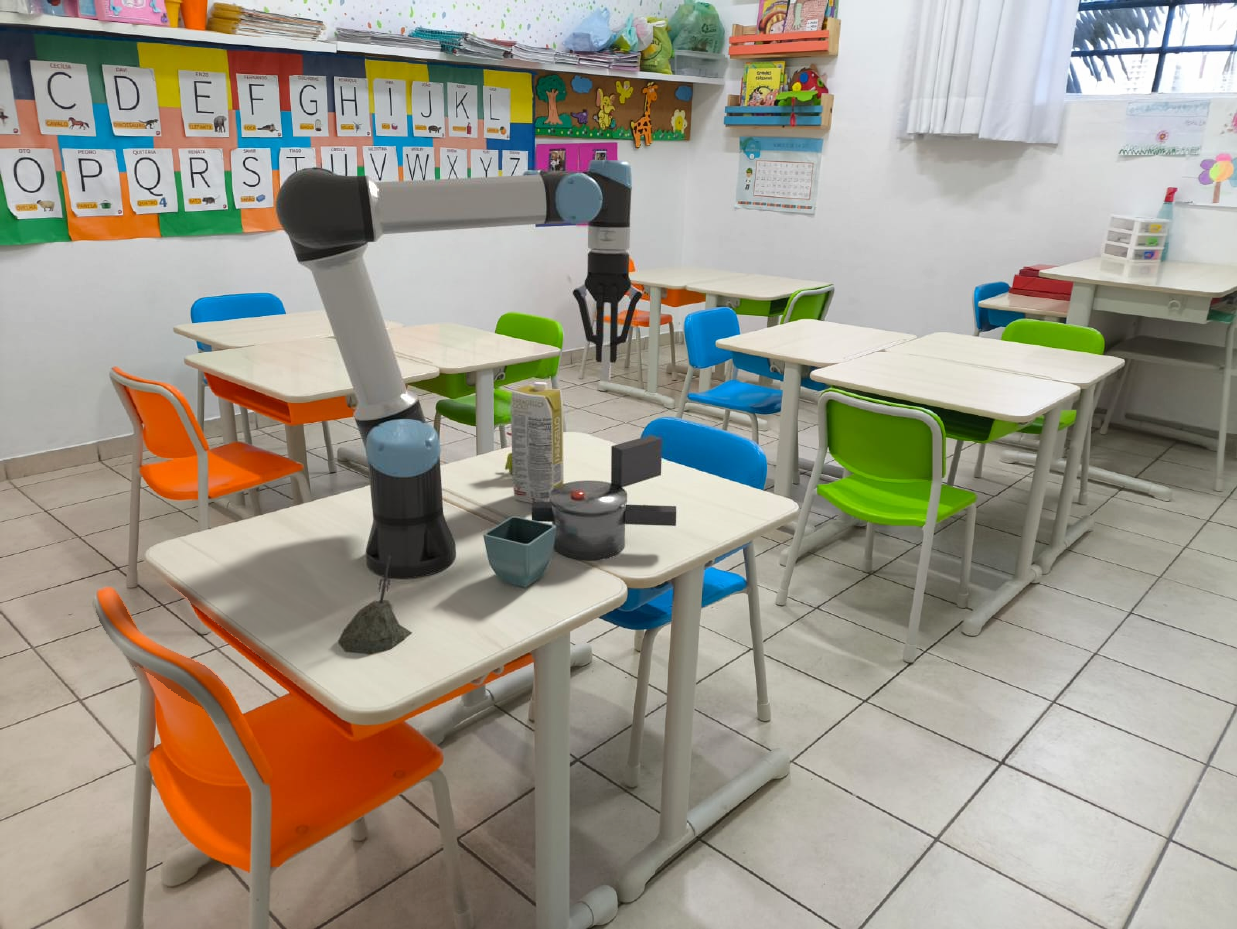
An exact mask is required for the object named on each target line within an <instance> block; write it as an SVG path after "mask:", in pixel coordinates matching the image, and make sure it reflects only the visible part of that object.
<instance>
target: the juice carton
mask: <svg viewBox="0 0 1237 929" xmlns="http://www.w3.org/2000/svg"><path fill="white" fill-rule="evenodd" d="M533 383H534V384H533V385H532V384H528V385H524V386H522V387H520V388H517V389H515V390H512V391H511V393H510V394H511V395H510V426H511V429H510V430H511V434H512V436H511V453H512V467H513V474H512V486H513V494H514V496H513V497H514V499H515V500H516V501H519V502H523V503H528V504H531V505H533V502H550V493H551V491H552V490H553V489H554V488H556V487H557V486H560V485H562V484H565V483H564V482H565V481H564V479H565V478H564V466H565V465H564V404H563V397H562V396H563V395H562V389H555V388H548V383H547V382H543V381H535V382H533Z"/></svg>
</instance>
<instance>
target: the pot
mask: <svg viewBox="0 0 1237 929" xmlns="http://www.w3.org/2000/svg"><path fill="white" fill-rule="evenodd" d="M531 520H534V521H538V522H543V523H547V522H548V523H551V524H552V525H555V526H556V530H555V540H554V548H553V552H555V553H556V554H558V555H559V556H561V557H563V558H566V559H570V560H574V561H580V562H581V561H582V562H590V561H591V562H596V561H603V559H604V560H607V559H611V558H613V556H614V557H616V556H618V555H619V554H620V553H622V552H623V550H625V547H626V545H625V544H626V525H633V526H634V525H635V526H639V525H640V526H663V527H664V526H665V527H666V526H667V527H669V526H670V527H671V526H672V527H676V526H677V506H676V505H656V504H655V505H651V504H649V505H648V504H625V505H624V506H623V507H622V508H620V509H618V510H616V511H613V512H610V513H605V514H597V515H580V514H572V513H568V512H564V511H561V510H559V509H557V508H555V507H554V506H553V505H552V504H551V502H533V504H531ZM610 557H611V558H610Z"/></svg>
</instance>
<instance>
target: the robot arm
mask: <svg viewBox="0 0 1237 929" xmlns="http://www.w3.org/2000/svg"><path fill="white" fill-rule="evenodd" d="M632 181H633V180H632V168H631V165H630V163H629V162H628V161H626V160H612V159H611V160H608V159H607V160H605V159H604V160H602V159H593V160H590V161H589V163H588V168H587V170H585V171H569V170H548V169H547V170H545V169H544V170H543V169H538V170H536V169H535V170H526V171H524V172H523V173H522V175H506V176H504V175H503V176H481V177H461V178H460V177H459V178H442V179H441V178H440V179H438V178H437V179H420V180H419V179H418V180H416V179H415V180H399V181H397V180H396V181H395V180H394V181H375V180H374V179H372V177H370V176H369V175H341V174H337V173H335V172H333V170H332V171H331V170H329V169H327V168H323V167H317V166H314V167H307V168H306V167H304V168H302V169H300V170H296V171H294V172H293V173H291V174H290V175H289V176H288V177H287V178H286V179H285V180H284V182H283V183H282V184H281V185H280V187H279V190H278V191H277V195H276V199H275V211H276V212H275V213H276V215H277V216H276V217H277V220H278V222H279V224H280V226H281V228H282V230H283V231H284V233H285V234H287V236H288V238H289V241H290V243H291V247H292V249H293V252H294V255H295V257H296V261H297V263H298V264H299V265H301V266H303V267H304V268H307V269H308V270H310V272H311V274H312V276H313V279H314V283H315V285H316V288H317V291H318V293H319V297H320V299H321V302H322V305H323V308H324V310H325V313H326V316H327V318H328V321H329V324H330V327H331V331H332V333H333V336H334V339H335V342H336V344H337V347H338V350H339V352H340V355H341V358H342V360H343V363H344V367H345V369H346V373H347V375H348V377H349V381H350V383H351V386H352V389H353V392H354V394H355V397H356V400H357V406H356V408H355V409H354V412H353V418H354V420H355V424H356V426H357V429H358V432H359V434H360V438H361V441H362V444H363V446H364V450H365V455H366V460H367V468H368V476H369V488H370V499H371V509H372V524H371V528H370V531H369V537H368V540H367V544H366V548H365V559H366V560H365V562H366V565H367V566H366V567H367V568H368V569H369V570H370V571H371V572H373V573H375V574H376V575H379V576H383V577H384V576H385V571H386V565H387V559H388V556H390V563H389V567H388V568H389V569H388V574H387V577H388V578H393V579H394V578H395V579H409V578H410V579H411V578H418V577H424V576H429V575H433V574H435V573H438V572H441V571H443V570H445V569H446V568H448V567H450V566H451V565H452V564H453V563H454V562H455V560H456V558H457V550H456V549H457V548H456V547H457V546H456V545H457V544H456V541H455V538H454V536H453V534H452V531H451V529H450V527H449V524H448V522H447V520H446V518H445V515H444V502H443V488H442V484H443V483H442V474H441V473H442V471H441V450H442V449H441V443H440V440H439V435H438V433H437V430H436V429H435V428H434V427H433V426H432V425H431V424H428V422H427V421H426V420H427V419H426V418H425V415H424V411H423V408H422V406H421V405H422V404H421V402H420V400H419V397H418V394H416V393H414V391H413V392H412V391H410V390H408V389H407V387H406V384H405V382H404V378H403V376H402V372H401V369H400V366H399V362H398V360H397V357H396V355H395V354H396V353H395V352H394V347H393V344H392V342H391V339H390V336H389V333H388V329H387V326H386V323H385V321H384V318H383V314H382V311H381V309H380V305H379V302H378V300H377V296H376V293H375V290H374V287H373V285H372V282H371V279H370V278H371V277H370V275H369V271H368V269H367V266H366V263H365V260H364V258H363V257H364V253H366V250H367V248H368V246H369V243H376V242H377V241H378V240H379V239H380V238H381V237H383V236H384V235H393V234H408V233H423V232H438V231H439V232H440V231H453V230H467V229H481V228H498V227H510V226H511V227H512V226H514V227H515V226H528V225H529V226H530V225H541V224H545V225H547V224H563V223H565V224H566V223H568V224H571V225H580V224H581V225H582V224H587V225H588V226H587V248H588V249H590V250H589V252H588V253H587V271H586V272H587V275H586V278H585V279H584V284H582V285H580V286H579V287H575V288H574V290H573V291H572V296H573V297H574V298H575V300H576V301H577V303H578V308H579V313H580V317H581V322H582V324H583V330H584V335H585V339H586V341H587V342H590V343H592V344H594V345H595V360H596V362H597V363H601V371H600V372H601V373H600V374H601V375H600V380H601V381H603V382H604V381H606V382H607V381H608V382H609V381H610V380H611V371H612V370H611V368H612V367H611V366H612V363H614V364H615V363H616V361H617V358H618V357H617V356H618V345H620V344H624V343H626V342H627V339H628V336H629V333H630V328H631V325H632V321H633V317H634V314H635V310H636V306H637V304H638V303H639V301H640V300H641V298H642V296H643V291H642V290H641V289H638V288H636V287H634V286H633V284H632V280H631V278H630V275H629V274H630V254H629V252H627V251H628V250H629V249H630V247H631V245H630V244H631V242H630V241H631V208H632V207H631V206H632V204H631V202H632V190H633V186H632ZM587 292H588V293H589V294H590V295H591V297H592V299H593V300H594V301H595V302H596V305H595V306H596V316H595V317H596V320H595V322H596V324H595V334H594V331H593V325H592V321H591V317H590V311H589V308H588V303H587V302H588V301H587V300H586V296H587V294H588V293H587ZM627 292H629V295H628V298H629V300H630V302H629V304H628V307H627V311H626V315H625V319H624V322H623V326H622V330H621V333H620V335H618V331H619V330H618V329H619V327H618V325H619V302H621V301H622V300H623V298H624V297H625V295H626V294H627ZM607 303H608V304H610V320H609V322H610V324H609V325H610V328H609V331H610V332H609V336H610V337H609V343H604V340H605V339H604V334H605V333H604V330H605V329H604V326H605V325H604V324H605V304H607Z"/></svg>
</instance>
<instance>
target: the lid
mask: <svg viewBox="0 0 1237 929" xmlns="http://www.w3.org/2000/svg"><path fill="white" fill-rule="evenodd" d="M610 450H611V451H610V452H611V454H610V455H611V456H610V458H611V459H610V461H611V462H610V482H607V481H602V480H576V481H570V482H565V483H564V484H562V485H560V486H557V487H556V488H554V489H553V490H552V491H551V493H550V502H551V504H552V505H553V506H554V507H555V508H557V509H559V510H561V511H564V512H568V513H572V514H580V515H597V514H605V513H610V512H613V511H616V510H618V509H620V508H622V507H623V506H624V505H625V506H626V505H627V502H628V493H627V491H626V490H625V488H626V487H629V486H632V485H634V484H638V483H641V482H644V481H647V480H650V479H654V478H656V477H660V476H662V457H663V456H662V454H663V452H662V451H663V438H662V437H658V436H655V435H653V434H651V435H647V436H643V437H639V438H635V439H632V440H628V441H625V442H621V443H617V444H614V445H611V448H610Z"/></svg>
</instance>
